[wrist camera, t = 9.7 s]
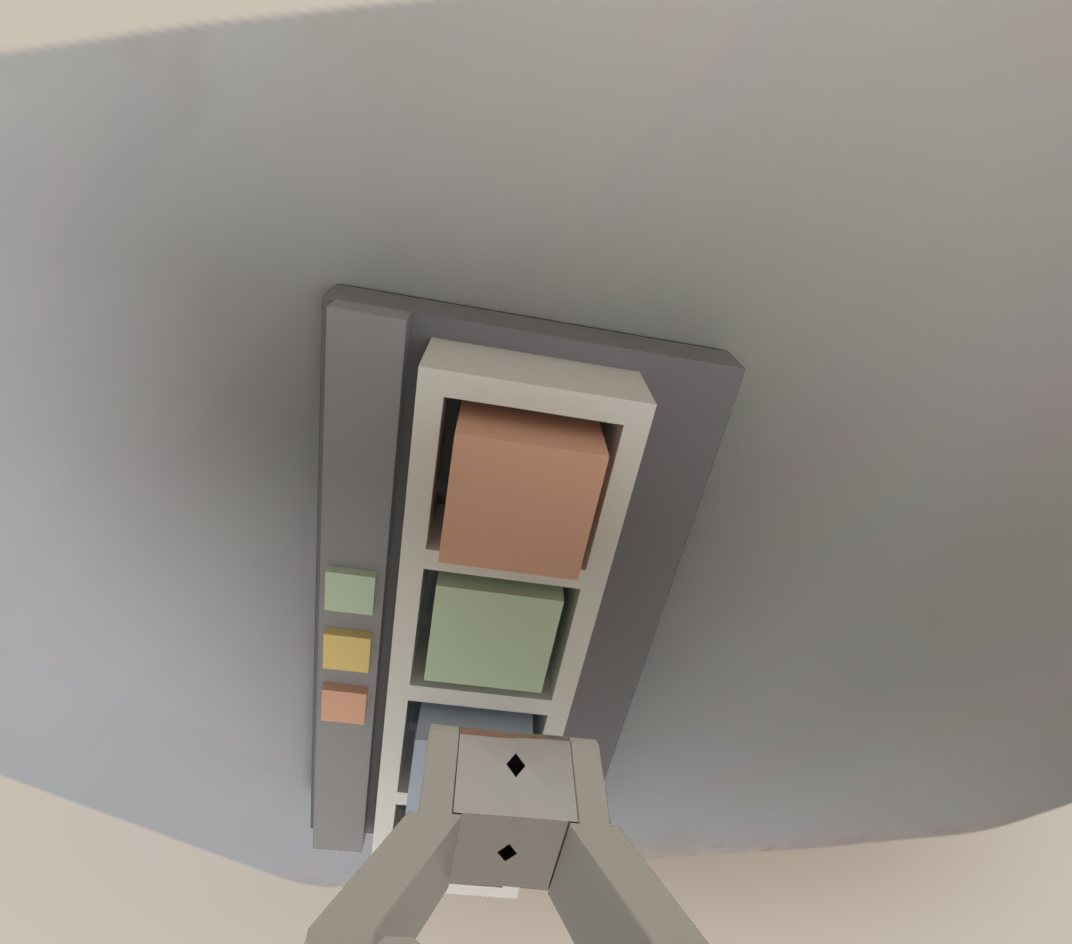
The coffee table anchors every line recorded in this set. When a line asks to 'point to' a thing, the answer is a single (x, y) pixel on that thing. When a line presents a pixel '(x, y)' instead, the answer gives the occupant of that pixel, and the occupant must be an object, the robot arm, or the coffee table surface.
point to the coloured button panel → (412, 567)
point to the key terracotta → (522, 490)
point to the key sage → (492, 632)
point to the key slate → (459, 718)
